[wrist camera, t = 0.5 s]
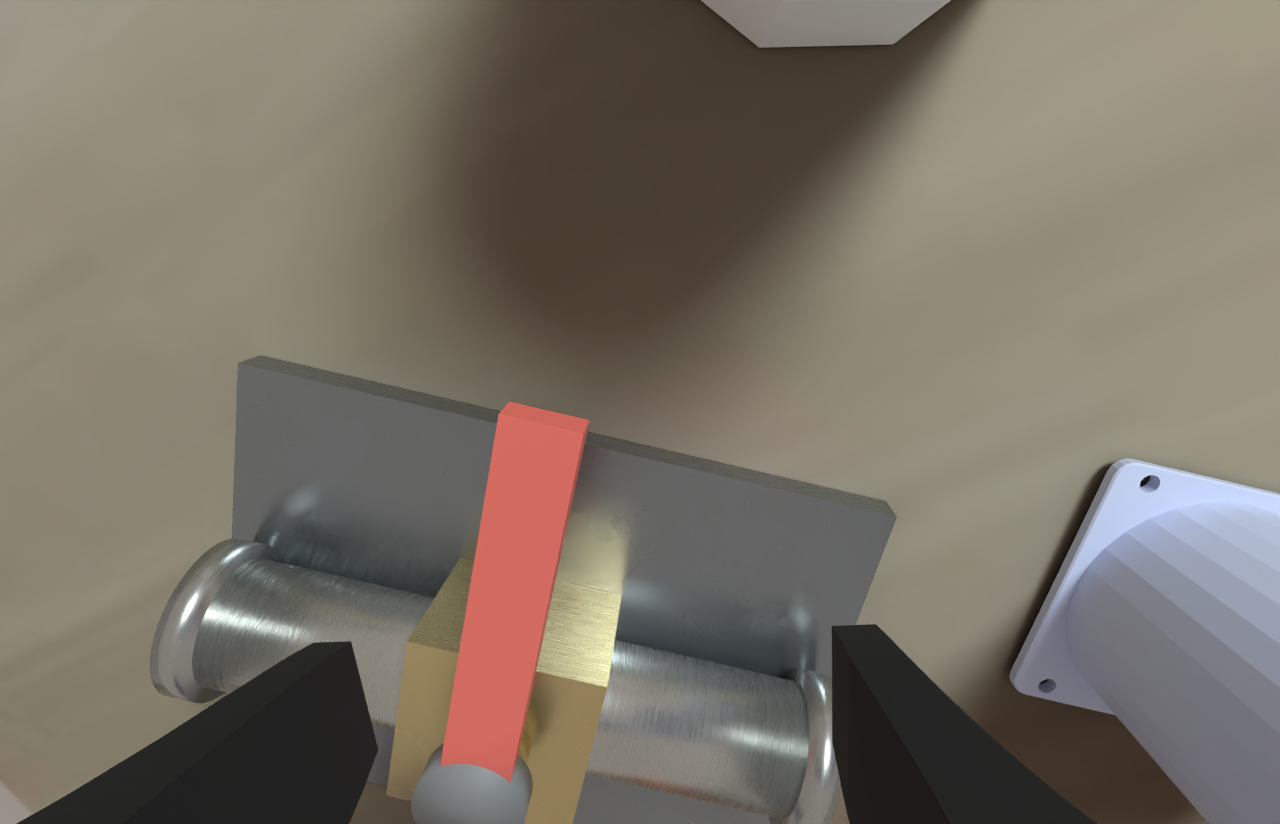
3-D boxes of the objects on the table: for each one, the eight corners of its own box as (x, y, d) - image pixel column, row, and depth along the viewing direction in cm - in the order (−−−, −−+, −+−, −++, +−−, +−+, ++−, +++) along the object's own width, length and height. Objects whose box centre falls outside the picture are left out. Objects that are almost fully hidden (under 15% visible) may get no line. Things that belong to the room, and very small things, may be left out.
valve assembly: (886, 501, 19) (971, 623, 14) (757, 845, 24) (781, 1047, 18) (260, 355, 19) (82, 417, 14) (242, 727, 23) (101, 894, 18)
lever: (522, 831, 16) (513, 867, 15) (419, 808, 16) (404, 842, 15) (614, 426, 13) (609, 441, 12) (484, 395, 13) (470, 409, 12)
